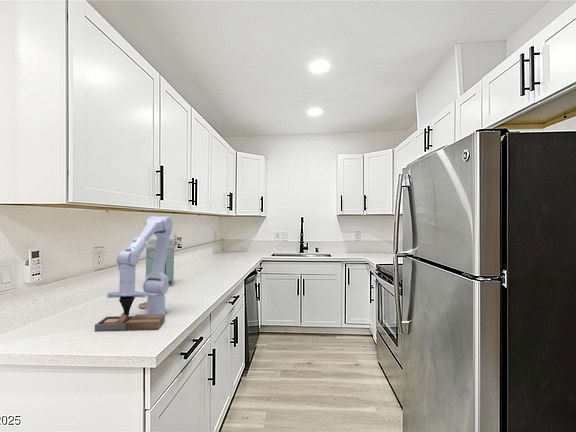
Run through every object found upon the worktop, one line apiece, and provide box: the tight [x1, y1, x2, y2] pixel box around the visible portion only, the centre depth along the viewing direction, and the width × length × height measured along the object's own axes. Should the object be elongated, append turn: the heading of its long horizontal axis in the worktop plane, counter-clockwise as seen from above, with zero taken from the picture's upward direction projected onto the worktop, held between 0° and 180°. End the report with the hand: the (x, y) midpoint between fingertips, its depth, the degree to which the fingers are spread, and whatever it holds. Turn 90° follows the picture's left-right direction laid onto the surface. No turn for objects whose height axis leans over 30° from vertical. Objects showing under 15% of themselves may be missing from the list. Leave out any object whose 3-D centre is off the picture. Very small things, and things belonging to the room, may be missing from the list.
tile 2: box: [117, 312, 130, 324], centre depth 143 cm, size 4×4×2 cm
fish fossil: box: [138, 301, 147, 310], centre depth 185 cm, size 26×10×1 cm, turn 6°
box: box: [94, 315, 135, 332], centre depth 142 cm, size 12×11×2 cm
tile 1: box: [104, 319, 119, 324], centre depth 142 cm, size 4×4×2 cm
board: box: [126, 313, 166, 332], centre depth 144 cm, size 12×12×3 cm
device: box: [145, 238, 175, 287], centre depth 235 cm, size 16×8×30 cm, turn 104°
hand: (126, 315), depth 143 cm, fingers closed, pressing on tile 2
